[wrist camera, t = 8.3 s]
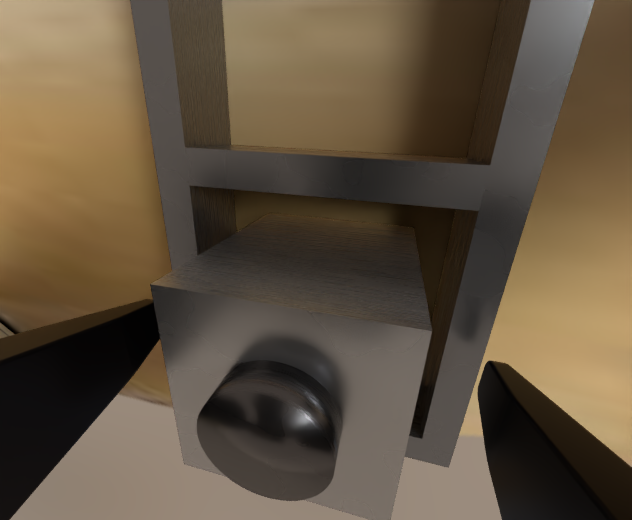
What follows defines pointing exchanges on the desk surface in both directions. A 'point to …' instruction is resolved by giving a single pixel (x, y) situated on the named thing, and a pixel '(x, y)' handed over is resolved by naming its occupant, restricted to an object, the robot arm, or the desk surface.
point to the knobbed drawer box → (299, 358)
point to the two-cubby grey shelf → (372, 173)
